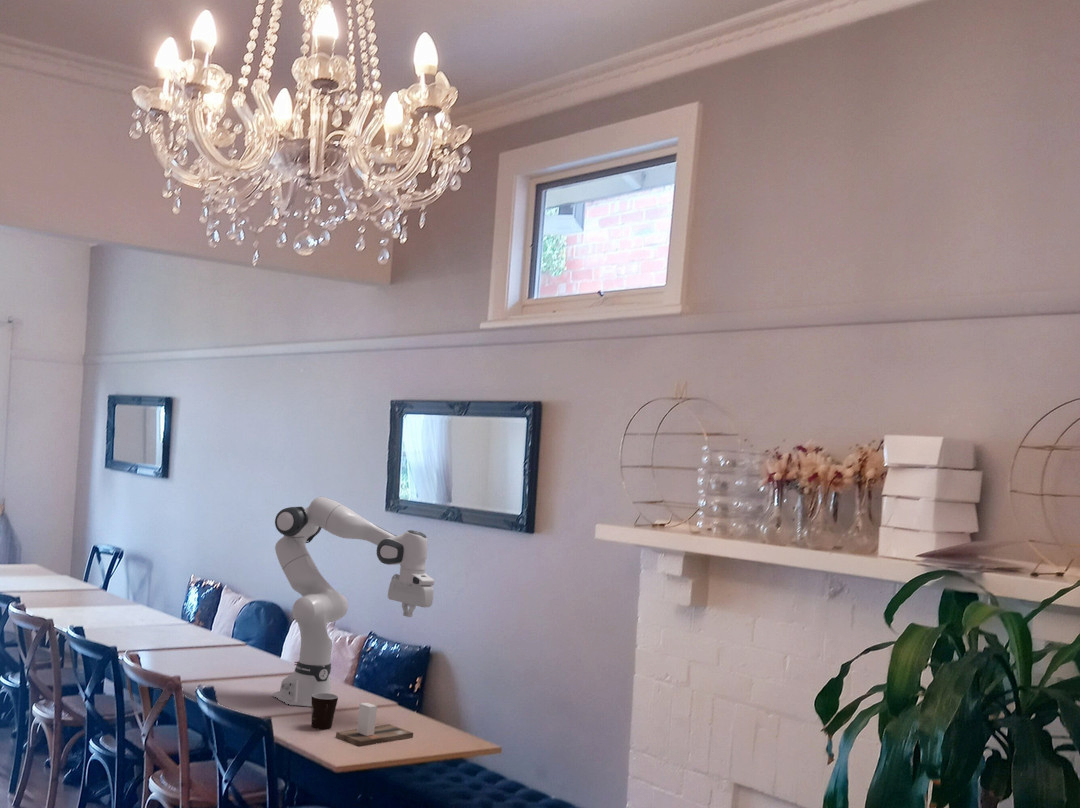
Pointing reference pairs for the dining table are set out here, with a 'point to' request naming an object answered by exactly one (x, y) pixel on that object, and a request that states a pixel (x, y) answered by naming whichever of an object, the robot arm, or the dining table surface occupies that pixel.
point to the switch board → (375, 735)
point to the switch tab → (366, 719)
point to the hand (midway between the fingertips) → (407, 616)
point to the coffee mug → (323, 710)
